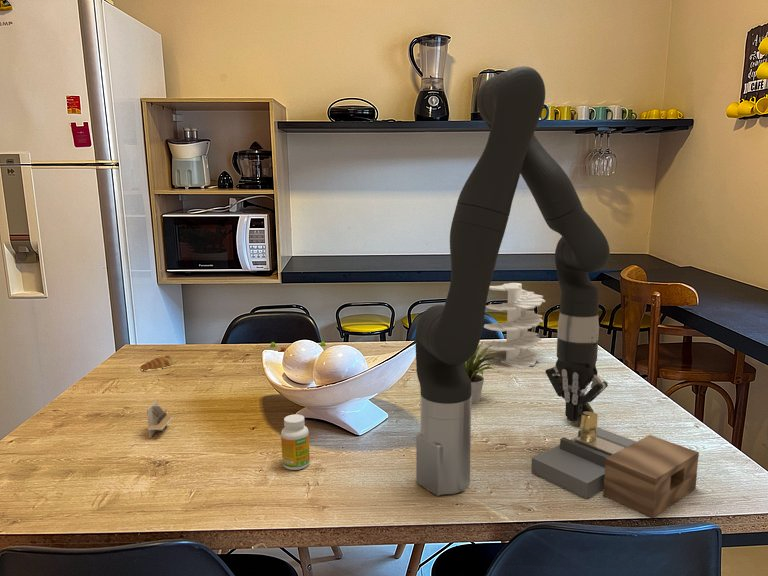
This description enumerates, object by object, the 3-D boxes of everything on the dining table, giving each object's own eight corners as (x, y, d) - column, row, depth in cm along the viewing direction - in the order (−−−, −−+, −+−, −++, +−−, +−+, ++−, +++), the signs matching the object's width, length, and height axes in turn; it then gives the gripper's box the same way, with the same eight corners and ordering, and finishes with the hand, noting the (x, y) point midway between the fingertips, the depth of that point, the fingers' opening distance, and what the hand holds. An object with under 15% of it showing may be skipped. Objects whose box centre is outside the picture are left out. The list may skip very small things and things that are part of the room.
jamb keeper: (652, 518, 92) (655, 478, 91) (603, 494, 99) (605, 458, 98) (695, 488, 101) (699, 452, 100) (647, 468, 108) (649, 435, 107)
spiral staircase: (538, 355, 181) (541, 279, 177) (545, 373, 164) (548, 289, 159) (481, 353, 184) (482, 278, 179) (482, 370, 167) (483, 288, 162)
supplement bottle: (297, 473, 108) (295, 426, 106) (276, 466, 111) (274, 420, 109) (315, 461, 112) (313, 416, 111) (294, 455, 115) (292, 410, 114)
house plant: (470, 418, 132) (471, 352, 129) (428, 402, 142) (428, 340, 140) (507, 403, 141) (509, 340, 139) (465, 389, 152) (466, 330, 149)
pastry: (146, 376, 164) (145, 364, 164) (137, 371, 169) (135, 359, 168) (177, 369, 171) (176, 357, 170) (167, 363, 175) (166, 352, 175)
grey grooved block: (586, 499, 98) (588, 472, 97) (531, 472, 107) (532, 447, 106) (651, 461, 111) (653, 437, 110) (596, 440, 120) (598, 418, 119)
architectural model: (174, 430, 129) (171, 399, 128) (163, 443, 122) (160, 411, 121) (159, 430, 129) (156, 400, 128) (147, 444, 122) (144, 412, 121)
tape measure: (587, 429, 128) (601, 420, 127) (572, 417, 125) (586, 407, 124) (574, 407, 134) (587, 398, 133) (559, 395, 131) (572, 386, 129)
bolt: (627, 470, 101) (630, 433, 100) (574, 448, 109) (576, 414, 108) (639, 463, 103) (642, 428, 102) (586, 442, 112) (588, 409, 111)
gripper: (537, 332, 111) (534, 414, 114) (597, 346, 101) (592, 436, 104) (560, 326, 116) (556, 405, 119) (620, 339, 105) (614, 426, 109)
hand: (573, 420), depth 111 cm, fingers closed
